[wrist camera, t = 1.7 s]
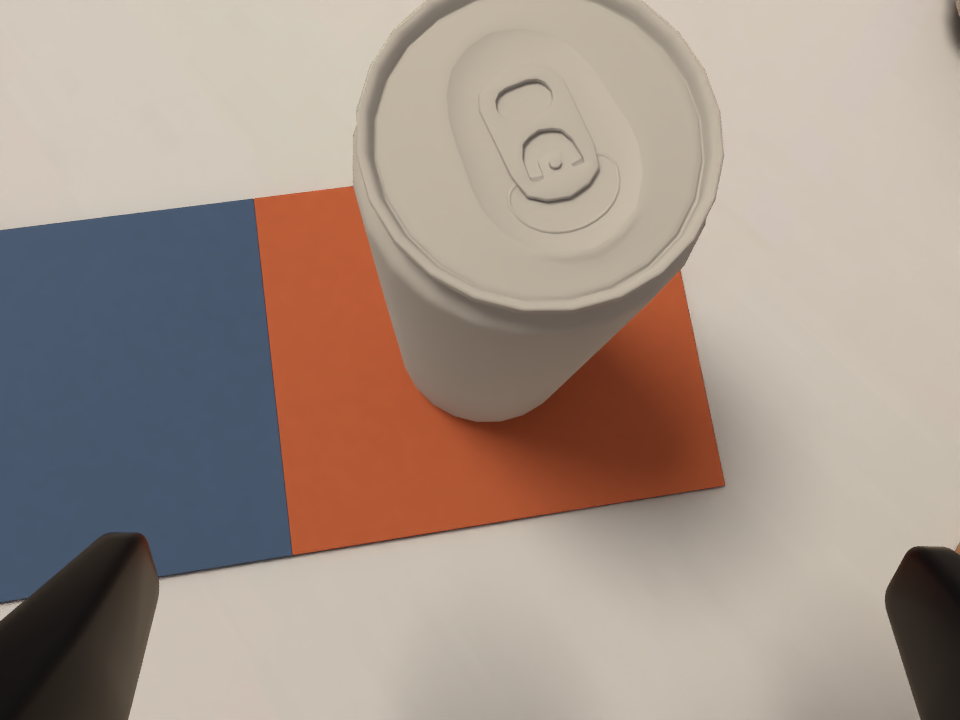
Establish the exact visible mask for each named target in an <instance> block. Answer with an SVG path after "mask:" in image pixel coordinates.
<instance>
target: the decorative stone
mask: <svg viewBox="0 0 960 720" xmlns="http://www.w3.org/2000/svg"><path fill="white" fill-rule="evenodd" d="M955 4H956V7H957V10H958V14H959V16H960V0H956V2H955Z"/></svg>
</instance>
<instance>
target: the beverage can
mask: <svg viewBox="0 0 960 720" xmlns="http://www.w3.org/2000/svg"><path fill="white" fill-rule="evenodd" d="M723 158H724V151H723V140H722V128H721V117H720V110H719V107H718V104H717V102H716V99H715V96H714V94H713V91H712V88H711V85H710V83H709V80H708V77H707V74H706V72H705V69H704V68H703V66H702V65H701V63H700V62H699V61H698V59H697V58H696V56H695V55H694V53H693V52H692V51H691V49H690V48H689V46H688V45H687V43H686V42H685V41H684V39H683V38H682V36H681V35H680V33H679V32H678V31H677V30H676V29H674V28H673V27H672V26H671V25H670V24H669V23H668V22H666V21H665V20H664V19H663V18H662V17H661V16H659V15H658V14H657V13H656V12H655V11H654V10H653V9H651V8H650V7H649V6H648V5H647V4H646V3H645V2H643V1H641V0H426V1H425V2H424V3H423V4H422V5H421V6H420V7H418V8H417V9H416V10H415V11H414V12H413V13H412V14H410V15H409V16H408V17H407V18H406V19H405V20H404V21H403V22H401V23H400V24H399V25H398V26H397V27H396V28H395V29H394V30H393V32H392V33H391V35H390V36H389V38H388V39H387V41H386V42H385V44H384V45H383V47H382V49H381V50H380V52H379V53H378V55H377V56H376V58H375V59H374V61H373V62H372V64H371V66H370V68H369V71H368V74H367V78H366V81H365V84H364V87H363V91H362V94H361V97H360V101H359V104H358V107H357V125H356V128H355V132H354V135H353V187H354V191H355V194H356V198H357V202H358V205H359V209H360V213H361V216H362V220H363V224H364V227H365V231H366V234H367V238H368V241H369V245H370V248H371V252H372V255H373V259H374V263H375V266H376V270H377V273H378V277H379V280H380V284H381V287H382V291H383V294H384V298H385V301H386V305H387V308H388V312H389V315H390V319H391V322H392V325H393V329H394V332H395V335H396V339H397V342H398V345H399V349H400V352H401V355H402V359H403V363H404V366H405V369H406V371H407V372H408V374H409V376H410V378H411V379H412V381H413V383H414V385H415V387H416V388H417V389H418V390H419V391H420V392H421V393H422V394H423V395H424V396H425V397H426V398H427V399H428V400H429V401H430V402H431V403H432V404H433V405H435V406H437V407H438V408H440V409H442V410H444V411H446V412H448V413H449V414H451V415H453V416H456V417H460V418H463V419H467V420H471V421H475V422H501V421H504V420H508V419H511V418H515V417H518V416H522V415H524V414H526V413H528V412H529V411H531V410H533V409H534V408H536V407H537V406H539V405H541V404H542V403H544V402H545V401H546V400H547V399H548V398H549V397H550V396H551V395H552V394H553V393H554V392H555V391H556V390H557V389H558V388H560V387H561V386H562V385H563V384H564V383H565V382H566V381H567V380H568V379H569V378H570V377H571V376H572V375H573V374H574V373H575V372H576V371H577V370H578V369H580V368H581V367H582V366H583V365H584V364H585V363H586V362H587V361H588V360H589V359H590V358H591V357H592V356H593V355H594V354H595V353H596V352H597V351H599V350H600V349H601V348H602V347H603V346H604V345H605V344H606V343H607V342H608V341H609V340H610V339H611V338H612V337H613V336H614V335H615V334H616V333H617V332H619V331H620V330H621V329H622V328H623V327H624V326H625V325H626V324H627V323H628V322H629V321H630V320H631V319H632V318H633V317H634V316H635V315H636V314H637V313H639V312H640V311H641V310H642V309H643V308H644V307H645V306H646V305H647V304H648V303H649V302H650V301H651V300H652V299H653V298H654V297H655V296H656V295H657V294H658V293H659V292H660V291H661V290H662V289H663V287H664V286H665V285H666V284H667V283H668V282H669V281H670V280H671V279H672V278H673V277H674V276H675V275H676V274H677V273H678V272H679V271H680V270H681V269H682V267H683V266H684V265H685V263H686V261H687V259H688V257H689V255H690V253H691V251H692V249H693V247H694V245H695V243H696V241H697V239H698V238H699V236H700V234H701V232H702V230H703V228H704V226H705V222H706V217H707V215H708V213H709V211H710V209H711V207H712V205H713V203H714V201H715V198H716V193H717V188H718V183H719V178H720V173H721V168H722V163H723Z"/></svg>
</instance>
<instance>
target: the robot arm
mask: <svg viewBox="0 0 960 720" xmlns="http://www.w3.org/2000/svg"><path fill="white" fill-rule="evenodd" d="M158 595H159V579H158V575H157V571H156V568H155V565H154V561H153V558H152V555H151V551H150V548H149V545H148V542H147V539H146V537H145V536H144V535H143V534H141V533H137V532H109V533H106V534H104V535H102V536H100V537H99V538H98V539H96V540H95V541H94V542H93V543H92V544H91V545H89V546H88V547H87V548H86V549H85V550H83V551H82V552H81V553H80V554H79V555H78V556H76V557H75V558H74V559H73V560H72V561H71V562H69V563H68V564H67V565H66V566H65V567H63V568H62V569H61V570H60V571H59V572H58V573H56V574H55V575H54V576H53V577H52V578H51V579H49V580H48V581H47V582H46V583H45V584H43V585H42V586H41V587H40V588H39V589H38V590H36V591H35V592H34V593H33V594H32V595H31V596H29V597H28V598H27V599H26V600H25V601H23V602H22V603H21V604H20V605H19V606H18V607H16V608H15V609H14V610H13V611H12V612H11V613H9V614H8V615H7V616H6V617H5V618H3V619H2V620H1V621H0V720H128V717H129V714H130V710H131V706H132V702H133V698H134V694H135V690H136V686H137V682H138V678H139V674H140V670H141V666H142V662H143V658H144V654H145V649H146V645H147V641H148V637H149V633H150V629H151V625H152V621H153V617H154V613H155V609H156V605H157V601H158ZM885 605H886V610H887V614H888V617H889V620H890V624H891V627H892V630H893V633H894V636H895V640H896V643H897V646H898V649H899V652H900V656H901V659H902V662H903V665H904V668H905V671H906V675H907V678H908V681H909V684H910V687H911V691H912V694H913V697H914V700H915V703H916V707H917V710H918V713H919V716H920V719H921V720H960V555H959V554H958V553H956V552H955V551H953V550H951V549H949V548H946V547H928V546H917V547H913V548H911V549H910V550H909V551H908V552H907V553H906V554H905V556H904V558H903V560H902V562H901V563H900V565H899V567H898V569H897V571H896V572H895V574H894V576H893V578H892V580H891V581H890V583H889V585H888V587H887V589H886V594H885Z"/></svg>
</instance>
